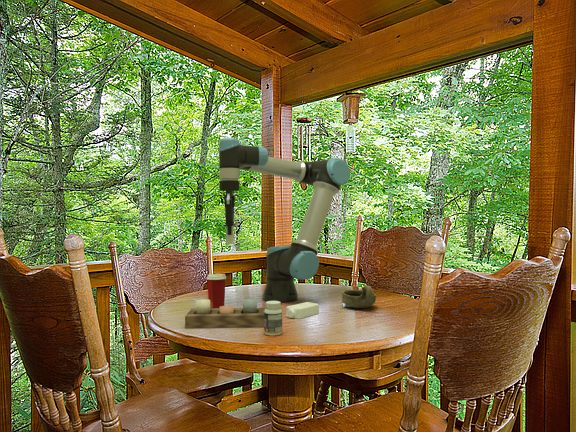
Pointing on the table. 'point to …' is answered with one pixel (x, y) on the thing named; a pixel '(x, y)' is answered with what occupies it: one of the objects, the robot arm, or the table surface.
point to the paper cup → (216, 289)
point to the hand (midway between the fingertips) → (230, 243)
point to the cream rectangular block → (302, 310)
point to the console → (225, 319)
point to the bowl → (359, 297)
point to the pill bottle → (273, 318)
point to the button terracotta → (226, 310)
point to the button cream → (203, 306)
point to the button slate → (249, 305)
